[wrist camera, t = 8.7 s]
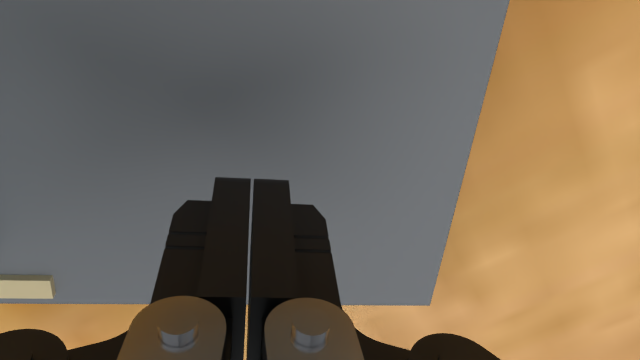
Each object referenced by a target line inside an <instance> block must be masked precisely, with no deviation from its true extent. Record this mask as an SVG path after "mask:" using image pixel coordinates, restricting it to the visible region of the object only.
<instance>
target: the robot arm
mask: <svg viewBox="0 0 640 360" xmlns="http://www.w3.org/2000/svg"><path fill="white" fill-rule="evenodd" d="M250 186H251V179H250V178H228V177H215V182H214V189H213V195H212V201H202V200H187V201H186V202H185V203H184V204H183V205H182V206H181V207H180V208H179V209H178V210H177V211H176V212H175V213H174V214H173V217H172V221H171V225H170V228H169V235H168V236H167V240H166V244H165V249H164V252H163V256H162V260H161V264H160V267H159V271H158V275H157V279H156V283H155V287H154V291H153V295H152V299H151V302H150V305H148V306H147V307H145V308H144V309H142V310H141V311H140V312H139V313H138V314H137V315H136V317H135V318H134V319H133V321H132V323H131V325H130V327H129V330H128V331H126V332H124V333H123V334H121V335H119V336H117V337H114V338H112V339H109V340H106V341H103V342H100V343H96V344H91V345H87V346H83V347H79V348H75V349H71V350H67V349H66V346H65V345H64V343H63V342H62V341H61V340H60V339H59V338H58V337H57V336H55V335H54V334H52V333H49V332H46V331H43V330H37V329H20V330H13V331H8V332H5V333H1V334H0V360H243V355H244V335H245V315H246V294H247V267H248V240H249V213H250ZM247 360H500V359H499V358H497V357H496V356H495V355H493V354H492V353H490V352H489V351H488V350H486V349H485V348H483V347H482V346H480V345H479V344H477V343H475V342H474V341H471V340H469V339H467V338H464V337H461V336H458V335H454V334H446V333H439V334H432V335H428V336H426V337H423V338H422V339H420V340H418V341H417V342H416V343H415V344H414V346H413V347H412V349H411V351H410V350H406V349H403V348H399V347H395V346H392V345H388V344H384V343H381V342H378V341H375V340H373V339H371V338H369V337H367V336H365V335H364V334H362V333H361V332H359V331H358V330H357V329H356V328H355V327H354V325H353V322H352V320H351V319H350V317H349V316H348V315H347V314H346V313H345V312H344V311H343V310H342V307H341V302H340V296H339V291H338V285H337V280H336V274H335V269H334V263H333V257H332V253H331V246H330V241H329V235H328V230H327V224H326V219H325V218H324V217H323V216H322V215H321V213H320V212H319V211H318V210H317V209H316V208H315V206H314V205H308V204H291V199H290V187H289V180H275V179H254V185H253V205H252V224H251V244H250V268H249V299H248V330H247Z"/></svg>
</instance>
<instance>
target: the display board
mask: <svg viewBox="0 0 640 360" xmlns="http://www.w3.org/2000/svg"><path fill="white" fill-rule="evenodd" d="M509 1H510V0H0V303H27V304H150V302H151V299H152V295H153V291H154V287H155V283H156V279H157V275H158V271H159V267H160V264H161V260H162V256H163V252H164V249H165V244H166V240H167V236H168V235H169V228H170V225H171V221H172V217H173V214H174V213H175V212H176V211H177V210H178V209H179V208H180V207H181V206H182V205H183V204H184V203H185V202H186V201H187V200H202V201H212V195H213V189H214V182H215V177H228V178H250V179H251V186H250V213H249V240H248V267H247V294H246V305H248V299H249V268H250V244H251V224H252V205H253V185H254V179H275V180H289V187H290V199H291V204H308V205H314V206H315V208H316V209H317V210H318V211H319V212H320V213H321V215H322V216H323V217H324V218H325V219H326V224H327V230H328V235H329V241H330V246H331V253H332V257H333V263H334V269H335V274H336V280H337V285H338V291H339V296H340V302H341V305H428V306H430V303H431V299H432V295H433V291H434V287H435V284H436V280H437V276H438V272H439V268H440V264H441V261H442V257H443V253H444V249H445V245H446V241H447V238H448V234H449V230H450V226H451V222H452V219H453V215H454V211H455V207H456V203H457V199H458V196H459V192H460V188H461V184H462V180H463V177H464V173H465V169H466V165H467V161H468V157H469V154H470V150H471V146H472V142H473V138H474V134H475V131H476V127H477V123H478V119H479V115H480V112H481V108H482V104H483V100H484V96H485V92H486V89H487V85H488V81H489V77H490V73H491V69H492V66H493V62H494V58H495V54H496V50H497V47H498V43H499V39H500V35H501V31H502V27H503V24H504V20H505V16H506V12H507V8H508V4H509Z"/></svg>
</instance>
